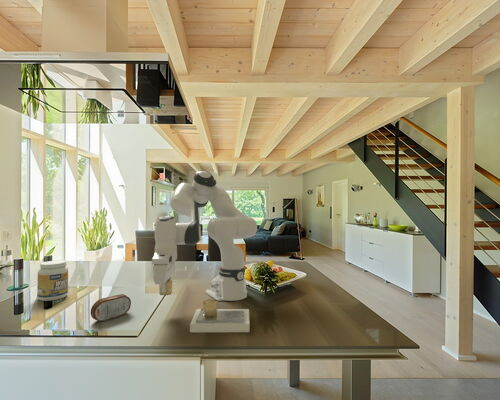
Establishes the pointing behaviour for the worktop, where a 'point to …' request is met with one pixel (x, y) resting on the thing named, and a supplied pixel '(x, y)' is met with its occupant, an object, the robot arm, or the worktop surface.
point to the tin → (110, 307)
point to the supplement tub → (52, 280)
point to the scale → (221, 321)
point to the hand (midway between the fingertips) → (165, 289)
